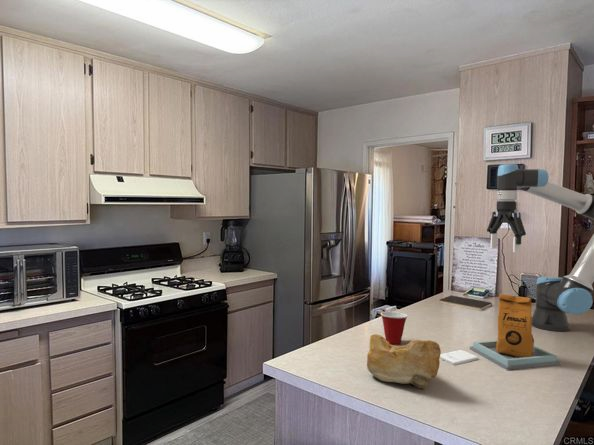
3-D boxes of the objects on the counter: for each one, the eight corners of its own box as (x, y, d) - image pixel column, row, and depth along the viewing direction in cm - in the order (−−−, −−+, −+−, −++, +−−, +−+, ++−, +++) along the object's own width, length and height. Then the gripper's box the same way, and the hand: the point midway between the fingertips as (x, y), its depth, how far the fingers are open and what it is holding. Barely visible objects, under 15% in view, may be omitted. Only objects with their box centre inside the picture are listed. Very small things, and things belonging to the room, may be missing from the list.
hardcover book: (480, 311, 215) (480, 307, 215) (439, 303, 231) (439, 299, 231) (491, 306, 226) (491, 302, 226) (451, 299, 242) (451, 295, 242)
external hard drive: (478, 361, 149) (453, 366, 143) (460, 353, 156) (436, 358, 151) (478, 356, 149) (453, 362, 143) (460, 349, 156) (436, 354, 151)
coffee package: (531, 362, 144) (533, 301, 142) (493, 354, 151) (495, 295, 150) (535, 354, 152) (538, 295, 150) (499, 346, 159) (501, 291, 158)
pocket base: (517, 345, 164) (518, 337, 164) (560, 364, 145) (560, 356, 144) (469, 349, 159) (470, 341, 159) (507, 370, 140) (507, 361, 139)
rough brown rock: (451, 382, 132) (452, 335, 132) (435, 397, 118) (436, 345, 119) (384, 366, 145) (385, 324, 146) (363, 379, 132) (364, 332, 132)
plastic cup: (409, 340, 168) (410, 311, 168) (404, 348, 159) (405, 318, 158) (383, 336, 173) (383, 308, 172) (377, 344, 163) (377, 314, 163)
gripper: (479, 200, 185) (477, 246, 186) (521, 200, 161) (519, 254, 162) (493, 200, 187) (492, 246, 188) (537, 201, 163) (534, 253, 164)
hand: (504, 250), depth 175 cm, fingers open, 13 cm apart
